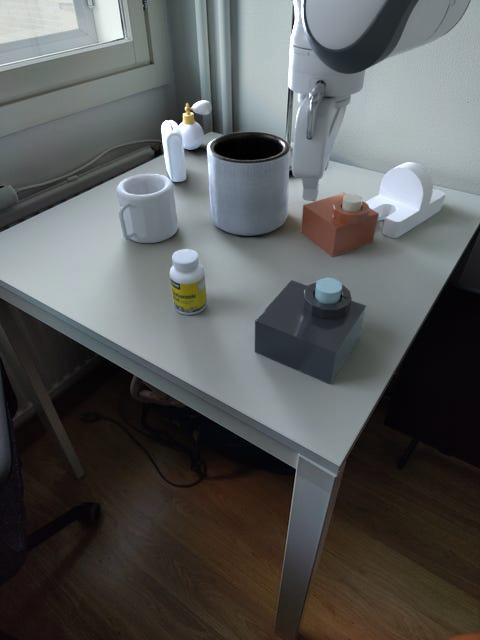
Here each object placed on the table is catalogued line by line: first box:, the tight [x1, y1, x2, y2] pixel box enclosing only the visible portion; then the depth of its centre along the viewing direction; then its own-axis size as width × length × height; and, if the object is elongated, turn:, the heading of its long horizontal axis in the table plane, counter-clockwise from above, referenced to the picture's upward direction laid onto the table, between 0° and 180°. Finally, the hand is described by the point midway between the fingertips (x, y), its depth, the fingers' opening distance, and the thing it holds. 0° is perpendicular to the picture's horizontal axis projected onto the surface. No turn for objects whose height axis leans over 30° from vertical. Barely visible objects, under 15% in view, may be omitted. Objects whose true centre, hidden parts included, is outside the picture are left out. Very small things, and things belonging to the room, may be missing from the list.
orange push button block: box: [300, 192, 379, 258], centre depth 88 cm, size 11×10×8 cm
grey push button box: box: [254, 279, 367, 385], centre depth 66 cm, size 12×12×8 cm
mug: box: [116, 173, 179, 244], centre depth 90 cm, size 14×11×10 cm
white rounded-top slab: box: [160, 119, 187, 183], centre depth 111 cm, size 10×4×12 cm, turn 15°
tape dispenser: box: [364, 161, 446, 239], centre depth 94 cm, size 10×18×11 cm, turn 132°
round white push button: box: [342, 193, 363, 212], centre depth 84 cm, size 3×3×2 cm
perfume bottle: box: [178, 99, 213, 151], centre depth 124 cm, size 8×10×12 cm
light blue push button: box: [315, 277, 343, 304], centre depth 64 cm, size 4×4×2 cm
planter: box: [206, 130, 291, 237], centre depth 92 cm, size 16×16×16 cm
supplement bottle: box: [169, 248, 208, 316], centre depth 73 cm, size 5×5×10 cm
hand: (316, 182), depth 63 cm, fingers open, 8 cm apart
